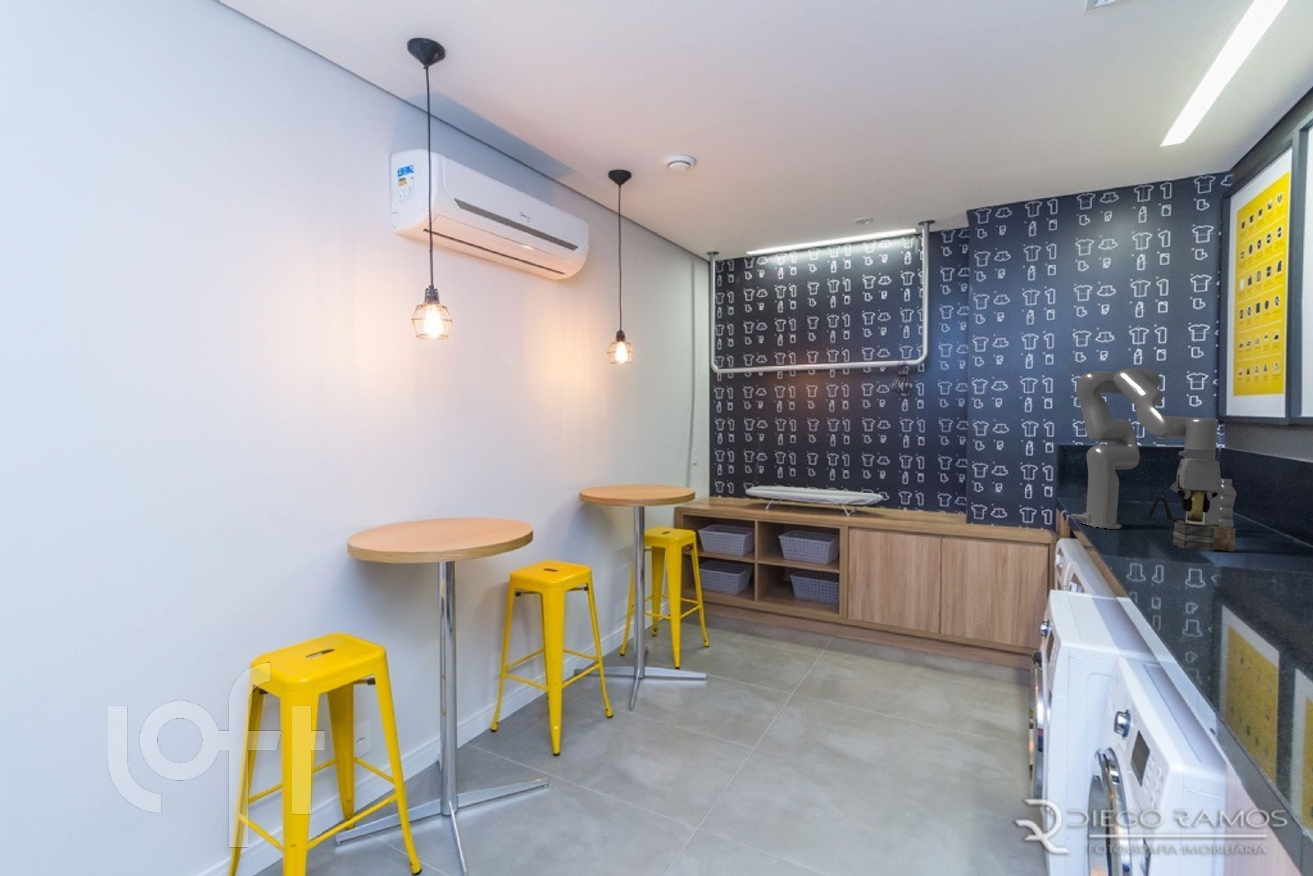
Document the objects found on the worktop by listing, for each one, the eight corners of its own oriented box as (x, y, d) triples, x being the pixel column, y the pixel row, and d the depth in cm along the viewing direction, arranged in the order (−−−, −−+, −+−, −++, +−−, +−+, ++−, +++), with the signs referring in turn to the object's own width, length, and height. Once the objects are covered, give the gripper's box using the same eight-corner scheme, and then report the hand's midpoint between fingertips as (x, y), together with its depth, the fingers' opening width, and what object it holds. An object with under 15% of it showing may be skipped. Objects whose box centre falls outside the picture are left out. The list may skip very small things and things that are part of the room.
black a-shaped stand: (1174, 520, 247) (1176, 491, 246) (1173, 522, 243) (1176, 493, 242) (1146, 517, 253) (1148, 489, 253) (1145, 518, 249) (1147, 490, 248)
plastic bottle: (1208, 528, 231) (1212, 477, 230) (1232, 531, 226) (1236, 478, 225) (1209, 530, 226) (1213, 478, 225) (1234, 533, 221) (1238, 480, 220)
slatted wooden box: (1183, 549, 192) (1185, 526, 192) (1164, 540, 205) (1165, 519, 205) (1212, 551, 190) (1214, 528, 189) (1191, 542, 203) (1193, 521, 202)
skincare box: (1203, 536, 214) (1206, 493, 213) (1182, 532, 221) (1185, 491, 220) (1219, 535, 216) (1223, 493, 216) (1198, 532, 223) (1202, 490, 222)
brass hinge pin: (1188, 521, 193) (1191, 484, 192) (1181, 518, 197) (1184, 482, 197) (1208, 522, 191) (1211, 485, 190) (1200, 520, 196) (1202, 484, 195)
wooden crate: (1183, 548, 192) (1185, 526, 192) (1172, 543, 199) (1174, 522, 199) (1238, 553, 188) (1239, 530, 187) (1224, 548, 195) (1226, 526, 194)
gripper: (1173, 455, 192) (1168, 511, 193) (1238, 457, 187) (1234, 515, 188) (1162, 453, 199) (1158, 507, 200) (1225, 456, 194) (1221, 511, 195)
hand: (1195, 510), depth 194 cm, fingers closed on brass hinge pin, 4 cm apart
